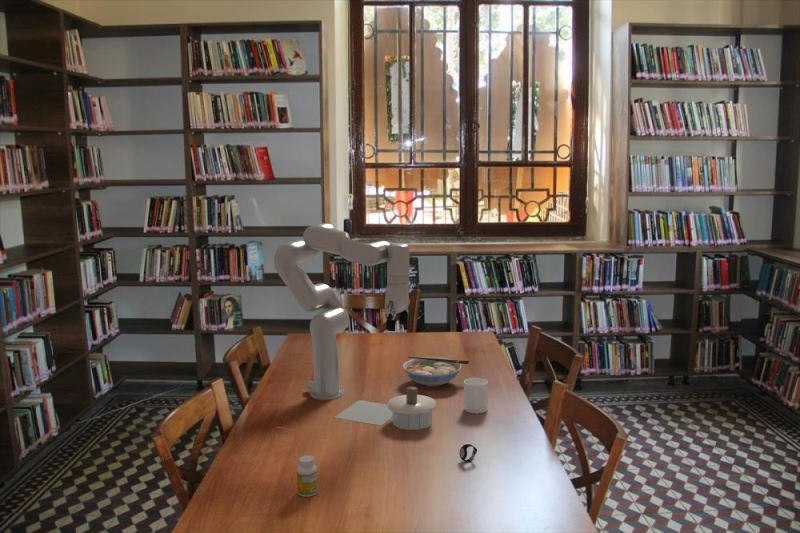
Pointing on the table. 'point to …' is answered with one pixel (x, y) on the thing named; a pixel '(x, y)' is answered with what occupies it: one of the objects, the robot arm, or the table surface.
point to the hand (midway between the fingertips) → (397, 327)
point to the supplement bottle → (307, 477)
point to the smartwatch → (464, 452)
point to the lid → (411, 403)
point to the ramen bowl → (432, 370)
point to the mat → (367, 413)
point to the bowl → (412, 421)
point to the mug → (475, 395)
